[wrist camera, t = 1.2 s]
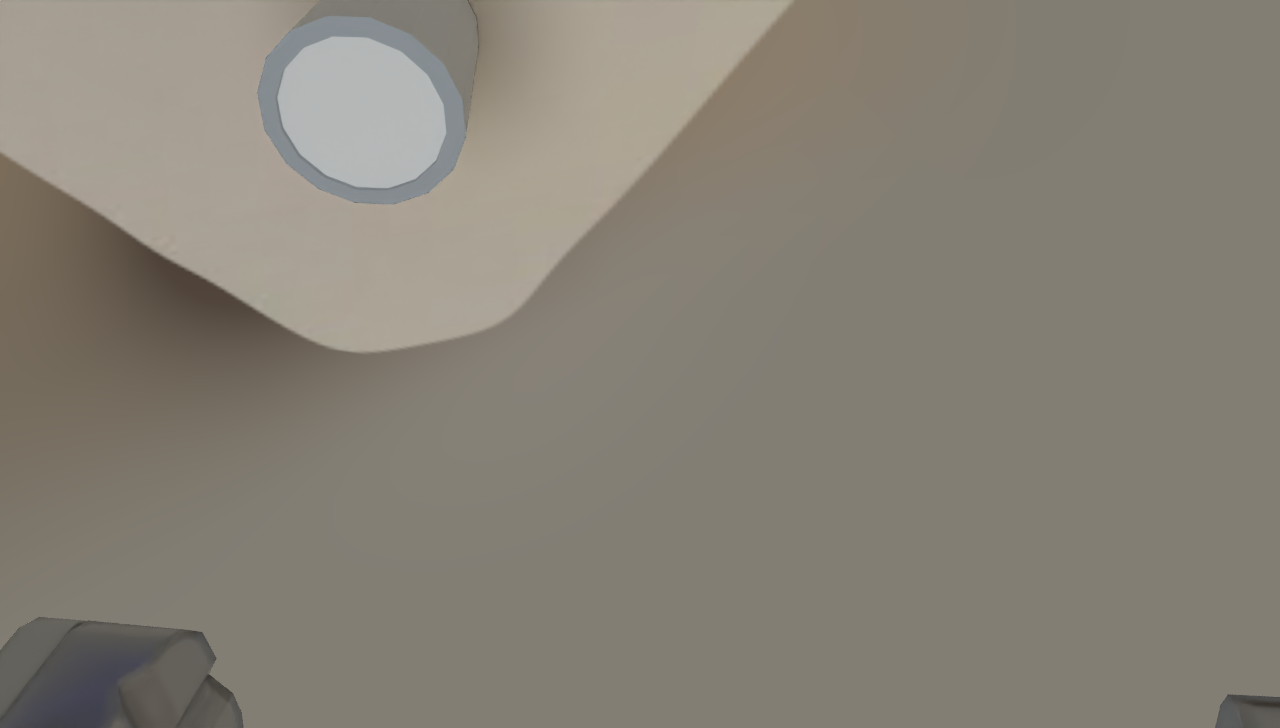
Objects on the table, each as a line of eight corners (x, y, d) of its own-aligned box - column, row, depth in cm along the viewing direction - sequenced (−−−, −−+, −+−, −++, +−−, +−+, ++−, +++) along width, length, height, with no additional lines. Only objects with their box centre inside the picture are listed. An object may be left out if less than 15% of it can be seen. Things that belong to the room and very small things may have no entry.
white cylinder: (440, 145, 48) (405, 240, 42) (282, 50, 45) (223, 137, 40) (530, 10, 44) (504, 95, 39) (362, -101, 42) (309, -28, 36)
